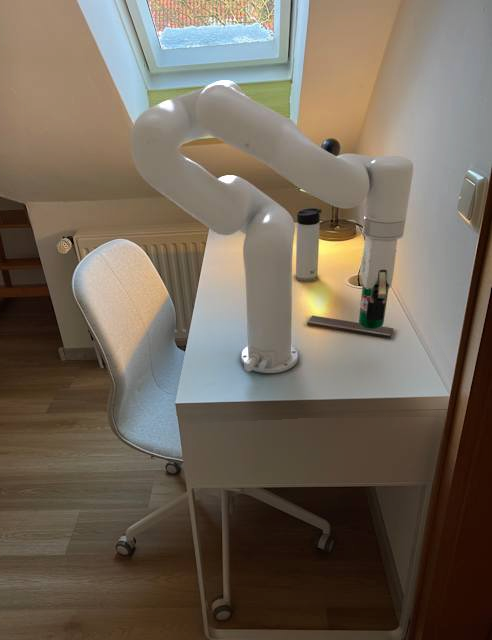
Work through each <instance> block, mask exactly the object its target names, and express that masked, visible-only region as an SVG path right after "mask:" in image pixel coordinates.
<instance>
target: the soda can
mask: <svg viewBox="0 0 492 640" xmlns="http://www.w3.org/2000/svg"><path fill="white" fill-rule="evenodd" d="M374 287H378V284H375V285H374ZM370 292H371V289H370V288H369V289H366V288H365V287H364V284H363V283H362V288H361V296H360V306H359V313H358V323H359V324H360V325H361V326H362V327H364V328H366V329H378V328H380V327H381V326H382V327H383V326H384V322H385V316H386V310H387V304H388V303H387V302H388V297H389V289H388V290H387V289H386V296H385V307H384V314H383V319H382V320H367V319H366V314H367V307H368V301H370ZM377 292H378V291H377V290H374V295H375V293H376V294H377Z"/></svg>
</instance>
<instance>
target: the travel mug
mask: <svg viewBox="0 0 492 640" xmlns="http://www.w3.org/2000/svg"><path fill="white" fill-rule="evenodd" d="M321 214H322V209H321V208H315V207H314V208H311V207H310V208H305V209H301V210H299V211H298V212H297V214H296V241H295V242H296V243H295V246H296V247H295V249H296V250H295V278H296V280H297V281H299V282H305V283H306V282H307V283H308V282H313V281H316V280H317V279H318V273H319V270H318V269H319V249H320V248H319V247H320V229H321V228H320V223H321V221H320V218H321V216H320V215H321Z"/></svg>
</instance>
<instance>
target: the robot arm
mask: <svg viewBox="0 0 492 640" xmlns="http://www.w3.org/2000/svg"><path fill="white" fill-rule="evenodd" d="M209 136H211V137H213V138H215V139H216V140H219V141H221V142H223V143H225V144H226V145H229V146H230V147H232V148H234V149H236V150H238V151H240V152H242V153H243V154H245V155H248V156H250V157H252V158H254V159H255V160H257V161H259V162H261V163H262V164H264V165H266V166H268V167H269V168H270V169H271V170H273V171H274V172H275V173H277V174H278V175H279V176H281V177H283V178H284V179H285V180H287V181H288V182H290V183H291V184H293V185H294V186H296V187H297V188H299V189H300V190H301V191H304V192H305V193H307V194H309V195H311V196H313V197H315V198H316V199H319V200H321V201H323V202H324V203H326V204H328V205H329V206H333V207H336V208H340V209H352V208H354V207H357V206H359V205H360V204H362V203H363V202H364V201H365V207H364V214H363V224H362V233H361V234H362V235H363V237H364V242H363V249H362V255H361V260H360V261H361V262H360V267H359V274H360V279H361V281H362V285H363V284H364V287H365V288H366V289H369V288H370V289H371V292H370V301H368V307H367V314H366V319H367V320H382V319H383V314H384V307H385V296H386V289H387V290H388V291H389V290H390V289H391V287H392V284H393V280H394V279H393V278H394V272H395V265H396V257H397V247H398V240H400V239H402V238H403V236H404V234H405V233H404V232H405V226H406V221H407V220H406V219H407V213H408V207H409V201H410V193H411V188H412V187H411V186H412V181H413V175H414V163H413V162H412V160H411V159H409V158H408V157H405V156H399V155H383V156H379V157H377V156H370V155H363V154H357V153H351V152H350V153H349V152H348V153H341V154H339V155H335V154H333V153H331V152H329V151H327V150H326V149H324V148H322V147H321V146H319V145H317V144H316V143H315V142H314V141H312V140H311V139H310V138H309V137H308V136H306V134H305V133H304V132H303V131H302V130H301V129H300V128H299V126H298V125H297V124H296V123H295V122H294V121H293V120H291V119H290V118H288V117H287V116H285V115H283V114H282V113H279V112H278V111H275V110H273V109H271V108H270V107H267V106H265V105H264V104H262V103H260V102H259V101H257V100H254V99H253V98H251V97H249V96H247V95H246V93H245V91H244V90H243V89H242V87H240V85H239V84H237V83H235V82H233V81H231V80H219V81H216V82H213V83H211V84H208V85H207V86H204V87H201V88H198V89H196V90H193V91H190V92H187V93H184V94H182V95H178V96H175V97H173V98H170V99H167V100H164V101H161V102H160V103H157V104H156V105H153V106H151V107H150V108H147V109H146V110H144V111H143V112H142V113H140V114H139V116H138V117H137V118H136V119H135V121H134V123H133V126H132V128H131V132H130V139H129V147H130V154H131V159H132V162H133V165H134V167H135V169H136V171H137V172H138V174H139V175H140V177H141V178H142V180H144V181H145V183H147V184H148V185H149V186H150V187H151V188H153V189H154V190H156V192H158V193H160V194H161V195H163V196H164V197H165V198H167V199H168V200H169V201H171V202H172V203H174V204H175V205H177V206H178V207H179V208H180V209H181V210H183V211H184V212H186V213H187V214H188V215H190V216H192V217H193V218H194V219H196V220H197V221H198V222H200V223H201V224H202V225H204V226H205V227H207V228H208V229H209V230H211V231H212V232H213V233H216V234H218V235H221V236H231V235H234V234H236V233H238V232H241V233H242V234H244V235H245V237H244V240H243V246H242V257H243V258H242V259H243V268H244V278H245V300H246V301H245V302H246V329H247V331H246V332H247V335H246V336H247V346H246V347H244V348H243V349H242V351H241V354H240V355H241V356H240V359H241V362H242V364H243V369H244V371H246V372H249V373H250V372H256V373H262V374H277V373H278V374H279V373H282V372H285V371H288V370H290V369H291V368H293V367H294V366H296V364H297V363H298V359H299V353H298V350H297V349H296V348H295V347H294V346H293V345H292V315H293V313H292V312H293V311H292V309H293V291H292V290H293V253H294V241H295V234H296V233H295V232H296V230H295V229H296V227H295V226H296V225H295V221H294V219H293V217H292V215H291V214H290V212H289V211H287V210H286V208H285V207H283V206H282V205H280V203H278V202H277V201H276V200H274V199H272V198H271V197H270V196H268V195H267V194H266V193H264V192H263V191H262V190H260V189H259V188H257V187H256V186H255V185H254V184H252V183H251V182H249V181H248V180H246V179H244V178H242V177H240V176H236V175H224V176H221V177H219V178H217V177H216V176H215V175H213V174H212V173H210V172H209V171H208V170H206V169H205V168H204V167H203V166H202V165H200V164H199V163H197V162H195V161H193V160H192V159H190V158H188V157H186V156H185V155H183V154H182V153H181V152H180V150H179V148H180V147H182V146H183V145H185V144H187V143H191V142H193V141H196V140H200V139H203V138H206V137H209ZM375 284H378V287H374V285H375ZM374 290H377V291H378V292H377V294H376V293H375V295H374Z"/></svg>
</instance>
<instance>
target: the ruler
mask: <svg viewBox="0 0 492 640" xmlns="http://www.w3.org/2000/svg"><path fill="white" fill-rule="evenodd" d="M306 325H307V326H311V327H316V328H322V329H328V330H333V331H340V332H345V333H352V334H359V335H365V336H369V337H375V338H383V339H389V340H390V339H391V338H392V335H393V333H394V327H388V326H383V325H382V326H381V327H380V328H378V329H366V328H364V327H362V326H361V325H360V324H359V322H356V321H349V320H345V319H344V320H343V319H337V318H330V317H324V316H317V315H311V317H309V319H308V320H307V323H306Z"/></svg>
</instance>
